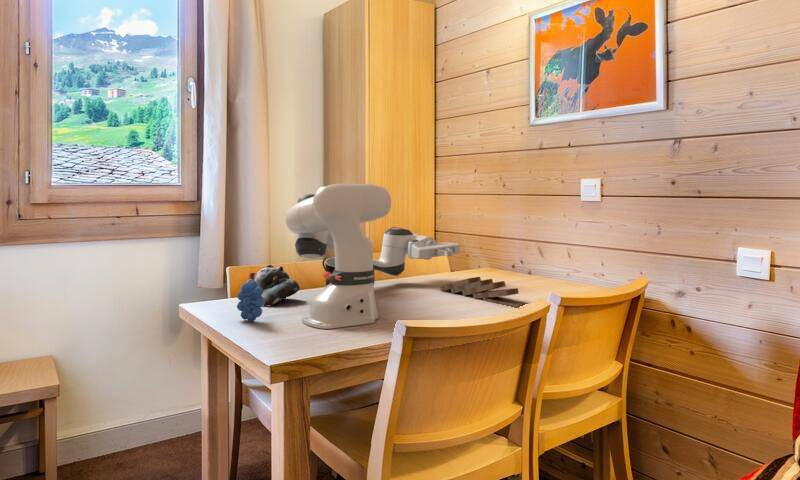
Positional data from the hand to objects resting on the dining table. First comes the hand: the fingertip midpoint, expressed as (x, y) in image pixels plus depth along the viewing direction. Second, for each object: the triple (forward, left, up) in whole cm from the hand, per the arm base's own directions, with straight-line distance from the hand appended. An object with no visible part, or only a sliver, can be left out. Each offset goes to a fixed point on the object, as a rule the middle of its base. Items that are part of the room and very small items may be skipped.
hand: (450, 253), depth 204 cm
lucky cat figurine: (-60, +21, -14) cm, 65 cm away
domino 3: (0, -10, -13) cm, 16 cm away
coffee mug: (-31, +30, -13) cm, 45 cm away
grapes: (-75, +1, -14) cm, 77 cm away
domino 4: (0, -15, -13) cm, 20 cm away
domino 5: (-1, -20, -14) cm, 24 cm away
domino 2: (0, -4, -13) cm, 13 cm away
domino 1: (0, +1, -13) cm, 13 cm away
